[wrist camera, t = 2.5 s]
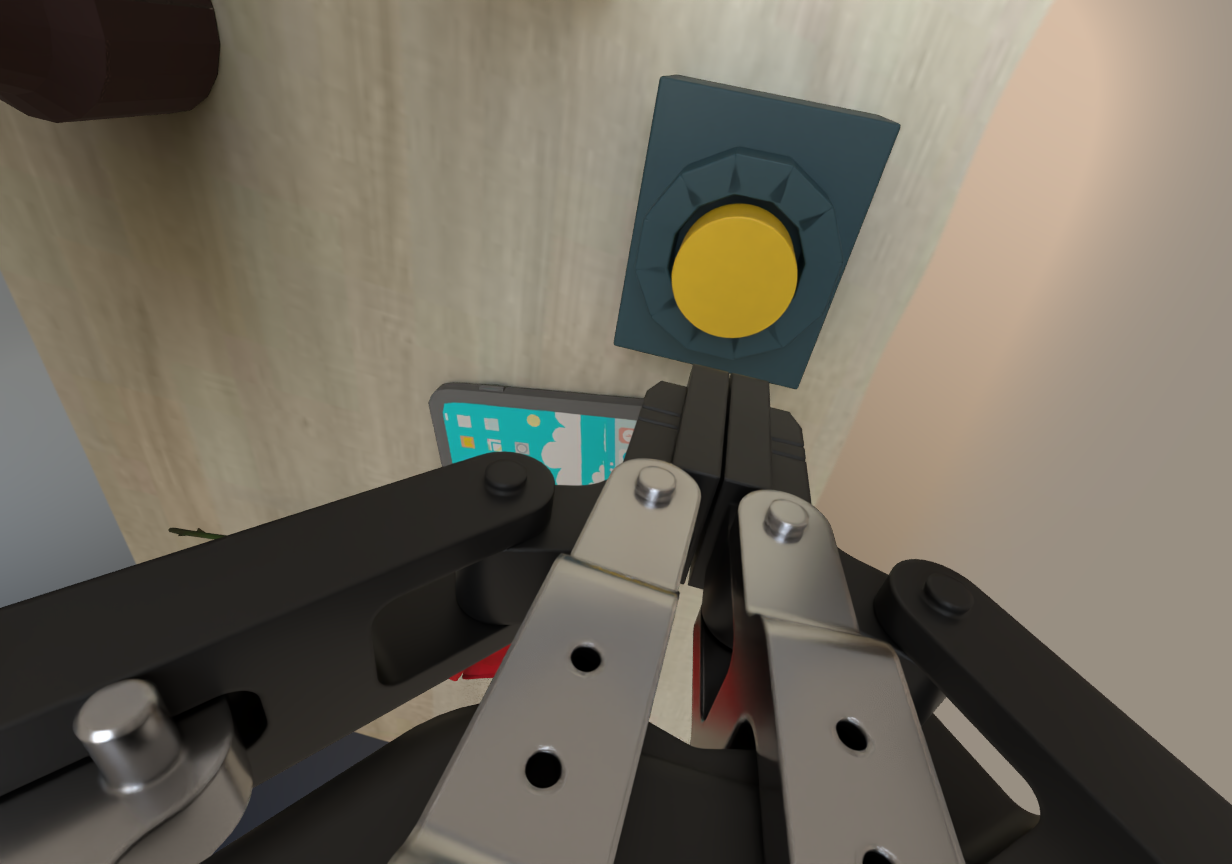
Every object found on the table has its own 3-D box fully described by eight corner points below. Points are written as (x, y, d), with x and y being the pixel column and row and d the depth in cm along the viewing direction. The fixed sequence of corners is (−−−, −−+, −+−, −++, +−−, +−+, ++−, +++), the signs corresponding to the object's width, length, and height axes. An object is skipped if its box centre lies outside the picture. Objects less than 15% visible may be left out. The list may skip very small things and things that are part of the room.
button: (693, 191, 19) (686, 203, 18) (811, 217, 19) (816, 232, 17) (667, 303, 22) (660, 323, 20) (773, 327, 21) (774, 350, 20)
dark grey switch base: (674, 74, 22) (650, 76, 17) (880, 115, 22) (916, 130, 17) (630, 312, 28) (602, 365, 23) (792, 351, 27) (800, 414, 22)
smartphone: (688, 537, 33) (449, 506, 36) (690, 526, 34) (455, 496, 37) (697, 409, 29) (422, 384, 31) (699, 399, 30) (431, 376, 32)
